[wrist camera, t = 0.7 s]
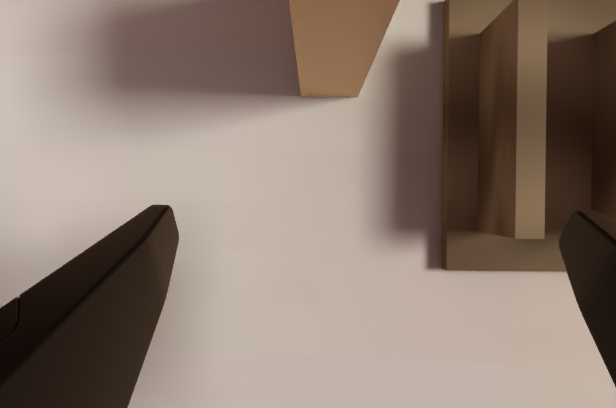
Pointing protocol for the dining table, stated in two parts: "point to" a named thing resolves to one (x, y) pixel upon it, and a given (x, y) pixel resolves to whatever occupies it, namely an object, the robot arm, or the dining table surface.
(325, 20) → the tan rectangular block
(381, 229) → the dining table surface
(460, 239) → the slot rack
